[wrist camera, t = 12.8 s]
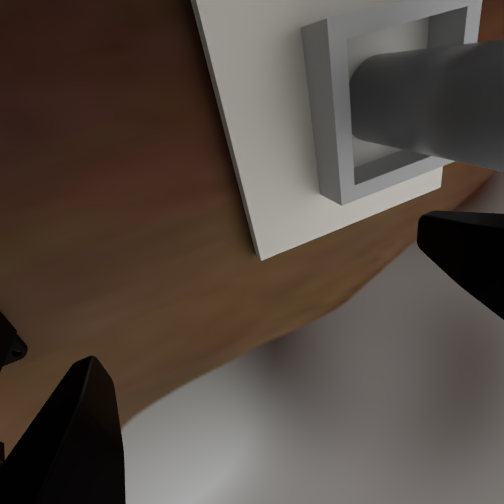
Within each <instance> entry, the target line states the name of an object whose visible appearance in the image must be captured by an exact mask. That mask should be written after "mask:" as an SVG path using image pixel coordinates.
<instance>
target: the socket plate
mask: <svg viewBox="0 0 504 504" xmlns="http://www.w3.org/2000/svg"><path fill="white" fill-rule="evenodd" d="M191 4H192V8H193V11H194V15H195V19H196V23H197V27H198V31H199V35H200V39H201V43H202V46H203V50H204V54H205V58H206V62H207V66H208V70H209V74H210V78H211V81H212V85H213V89H214V93H215V97H216V101H217V105H218V109H219V113H220V116H221V120H222V124H223V128H224V132H225V136H226V140H227V144H228V148H229V151H230V155H231V159H232V163H233V167H234V171H235V175H236V179H237V183H238V186H239V190H240V194H241V198H242V202H243V206H244V210H245V214H246V218H247V221H248V225H249V229H250V233H251V237H252V241H253V245H254V249H255V253H256V255H257V256H258V258H259V259H260V260H261V261H262V260H264V259H267V258H269V257H272V256H274V255H277V254H279V253H281V252H284V251H286V250H289V249H291V248H294V247H296V246H299V245H301V244H303V243H306V242H308V241H311V240H313V239H316V238H318V237H321V236H323V235H325V234H328V233H330V232H333V231H335V230H338V229H340V228H343V227H345V226H347V225H350V224H352V223H355V222H357V221H360V220H362V219H364V218H367V217H369V216H372V215H374V214H377V213H379V212H382V211H384V210H386V209H389V208H391V207H394V206H396V205H399V204H401V203H404V202H406V201H408V200H411V199H413V198H416V197H418V196H421V195H423V194H426V193H428V192H430V191H433V190H435V189H438V188H440V187H441V179H442V169H443V166H444V165H447V164H449V163H452V162H454V161H452V160H448V159H443V158H439V157H434V156H430V155H425V154H421V153H416V152H412V151H407V150H403V149H398V148H394V147H389V146H385V145H380V144H376V143H371V142H367V141H363V140H360V139H358V138H356V137H355V136H354V135H353V134H352V128H351V109H350V91H349V81H350V79H351V77H352V76H353V74H354V72H355V71H356V70H357V68H358V67H359V66H360V65H361V64H362V63H363V62H364V61H366V60H367V59H369V58H370V57H372V56H374V55H378V54H385V53H393V52H402V51H410V50H418V49H427V48H435V47H444V46H452V45H461V44H469V43H477V38H478V30H479V22H480V14H481V6H482V0H191Z"/></svg>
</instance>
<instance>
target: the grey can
mask: <svg viewBox="0 0 504 504" xmlns="http://www.w3.org/2000/svg"><path fill="white" fill-rule="evenodd" d="M349 91H350V109H351V128H352V134H353V135H354V136H355V137H356V138H358V139H360V140H363V141H367V142H371V143H376V144H380V145H385V146H389V147H394V148H398V149H403V150H407V151H412V152H416V153H421V154H425V155H430V156H434V157H439V158H443V159H448V160H452V161H457V162H462V163H466V164H471V165H475V166H480V167H484V168H489V169H493V170H498V171H502V172H504V39H503V40H494V41H486V42H477V43H469V44H461V45H452V46H444V47H435V48H427V49H418V50H410V51H402V52H393V53H385V54H378V55H374V56H372V57H370V58H369V59H367V60H366V61H364V62H363V63H362V64H361V65H360V66H359V67H358V68H357V70H356V71H355V72H354V74H353V76H352V77H351V79H350V81H349Z"/></svg>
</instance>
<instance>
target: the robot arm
mask: <svg viewBox="0 0 504 504" xmlns="http://www.w3.org/2000/svg"><path fill="white" fill-rule="evenodd" d="M417 244H418V247H419V248H420V249H421V250H422V251H423V252H424V253H425V254H426V255H427V256H428V257H429V258H430V259H431V260H432V261H433V262H435V263H436V264H437V265H438V266H439V267H440V268H441V269H442V270H443V271H444V272H445V273H446V274H447V275H448V276H450V277H451V278H452V279H453V280H454V281H455V282H456V283H457V284H458V285H460V286H461V287H462V288H463V289H464V290H466V291H467V292H468V293H470V294H471V295H472V296H473V297H475V298H476V299H477V300H479V301H480V302H481V303H483V304H484V305H485V306H486V307H488V308H489V309H490V310H492V311H493V312H494V313H496V314H497V315H498V316H499V317H501V318H502V319H503V320H504V214H495V213H475V212H454V211H431V212H428V213H426V214H424V215H422V216H420V218H419V220H418V229H417ZM16 333H17V330H16V329H15V328H14V327H13V326H12V324H11V323H10V322H9V321H8V320H7V319H6V317H5V316H4V315H3V314H2V313H1V312H0V371H1V369H2V367H3V366H5V365H7V364H10V363H12V362H15V361H17V360H20V359H22V358H23V357H25V355H26V353H27V350H28V347H27V345H26V344H25V343H24V342H23V341H22V340H21V338H20V337H19V336H18V335H17V334H16ZM14 350H19V351H21V352H15V351H14ZM0 504H126V503H125V469H124V450H123V442H122V435H121V428H120V421H119V415H118V408H117V401H116V395H115V388H114V384H113V381H112V379H111V377H110V375H109V374H108V373H107V371H106V370H105V369H104V367H103V366H102V364H101V363H100V362H99V360H98V359H97V358H96V357H95V356H89V357H86V358H84V359H81V360H79V361H77V362H75V363H74V364H73V365H72V366H71V367H70V369H69V370H68V372H67V373H66V375H65V376H64V377H63V379H62V380H61V382H60V383H59V384H58V386H57V387H56V389H55V390H54V392H53V393H52V394H51V396H50V397H49V399H48V400H47V401H46V403H45V404H44V406H43V407H42V409H41V410H40V411H39V413H38V414H37V416H36V417H35V418H34V420H33V421H32V423H31V424H30V426H29V427H28V428H27V430H26V431H25V433H24V434H23V436H22V437H21V438H20V440H19V441H18V443H17V444H16V445H15V447H14V448H13V450H12V451H11V453H10V454H9V455H8V457H7V458H6V460H5V455H4V443H3V442H0Z"/></svg>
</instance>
